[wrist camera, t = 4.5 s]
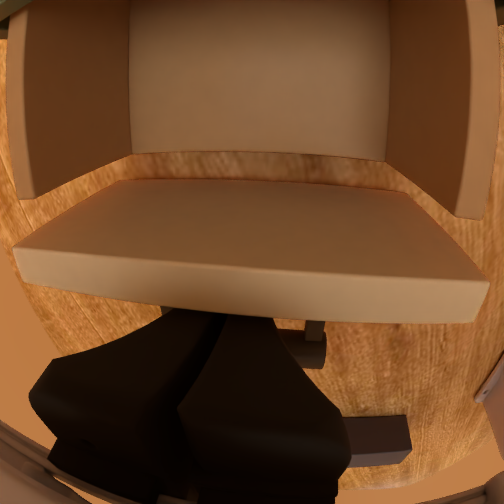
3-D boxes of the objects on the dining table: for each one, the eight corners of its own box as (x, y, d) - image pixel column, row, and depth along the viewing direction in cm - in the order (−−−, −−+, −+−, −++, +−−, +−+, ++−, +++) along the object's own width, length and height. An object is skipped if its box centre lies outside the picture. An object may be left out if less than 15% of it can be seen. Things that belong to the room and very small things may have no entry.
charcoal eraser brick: (395, 430, 20) (400, 463, 17) (303, 432, 21) (301, 468, 18) (406, 414, 19) (413, 449, 16) (307, 416, 20) (306, 455, 17)
